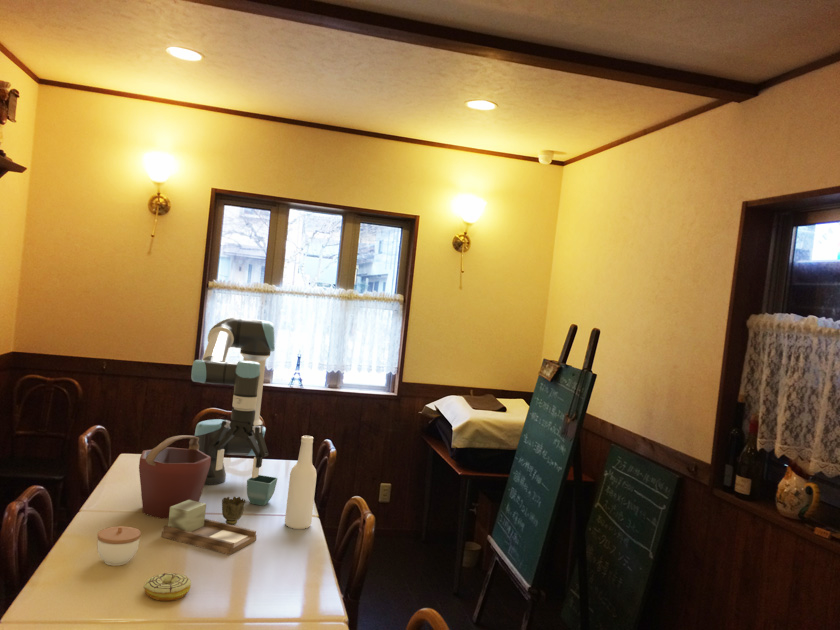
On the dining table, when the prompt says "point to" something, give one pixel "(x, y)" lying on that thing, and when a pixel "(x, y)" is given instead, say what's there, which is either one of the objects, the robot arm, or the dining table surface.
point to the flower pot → (260, 489)
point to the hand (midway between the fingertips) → (236, 473)
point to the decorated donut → (167, 586)
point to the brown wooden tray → (204, 529)
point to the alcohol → (301, 488)
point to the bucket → (172, 475)
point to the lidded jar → (118, 544)
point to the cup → (232, 509)
